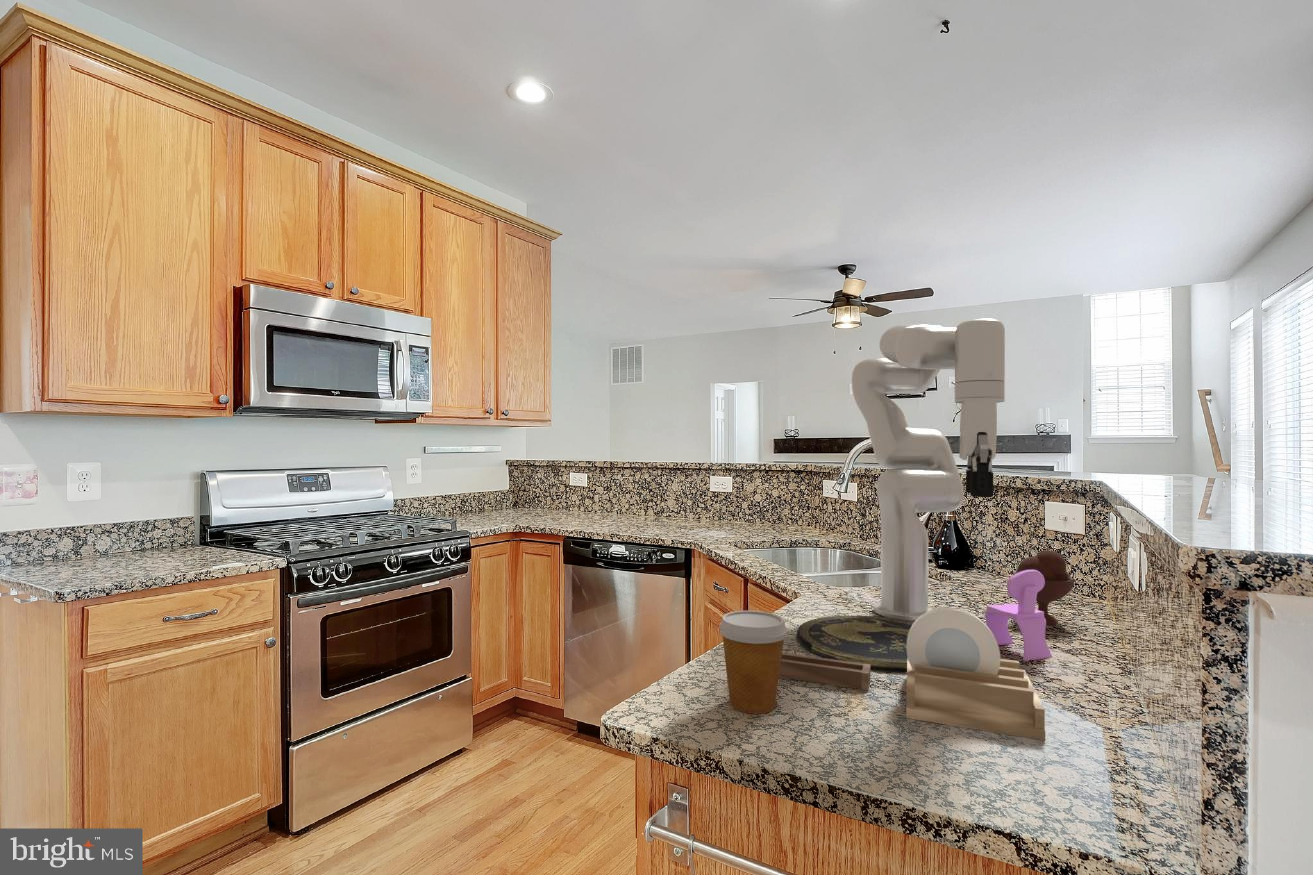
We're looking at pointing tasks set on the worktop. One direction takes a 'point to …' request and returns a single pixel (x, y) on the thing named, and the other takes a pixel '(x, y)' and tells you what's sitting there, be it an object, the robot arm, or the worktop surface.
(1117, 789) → the worktop surface
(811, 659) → the plate stand
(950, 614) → the side plate
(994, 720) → the dish rack
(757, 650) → the disposable coffee cup
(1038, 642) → the toy chair
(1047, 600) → the ice cream bowl
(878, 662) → the decorative plate
